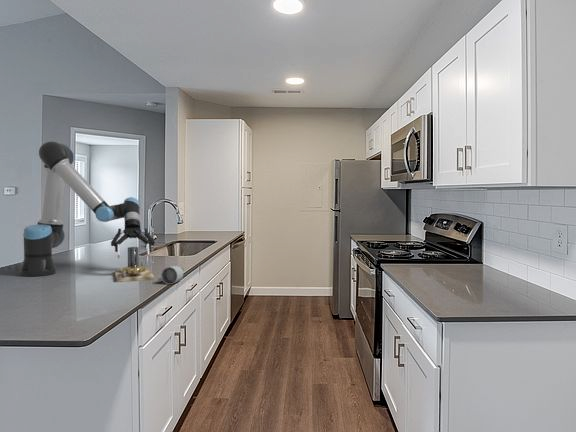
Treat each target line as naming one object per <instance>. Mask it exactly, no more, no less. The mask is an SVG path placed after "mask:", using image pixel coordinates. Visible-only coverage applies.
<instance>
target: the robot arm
mask: <svg viewBox="0 0 576 432" xmlns="http://www.w3.org/2000/svg"><path fill="white" fill-rule="evenodd" d="M38 156H39V159H40V160H41V162H42V163H44V167H43V168H44V170H45V171H46V177H45V179H46V180H45V186H44V187H45V188H44V197H43V206H42V211H41V218H40V219H39V220H38V221H37V224H32V225H28V226H26V227H25V226H24V227H25V228H24V229H23V234H22V236H23V261H22V264H21V267H20V270H19V275H20V276H22V277H41V276H42V277H43V276H49V275H53V274H57V266H56V265H55V262H54V259H53V254H52V253H53V249H54V248H58V247H59V246H60V245H62V243H63V242H64V241H65V238H66V237H65V235H66V233H65V230H64V222H63V221H62V220H61V219H62V211H63V203H64V202H63V201H64V195H65V194H64V193H65V187H66V185H65V184H67V186H69V188H70V189H71V190H72V191H73V192H74V193H75V194H76V195H77V196H78V197H79V199H80V200H81V201H82V202H83V203H84V204H85V205H86V206H87V207H88V208H89V209H90V210H91V211H92V212H93V213H94V214H95V218H96V219H97V220H98V221H99V222H101V223H103V222H104V223H107V222H111V221H114V220H118V219H123V218H124V229H122V228H118V229H117V233H116V234H115V235H114V237H113V239H112V240H111V242H110V246H111V247H114V252H115V253H117V259H120V253H121V252H120V245H121V244H123V242H125V241H126V240H128V239H138V240H140V241H141V242H143V244H145V245H146V254H147V258H149V257H150V252H151V251H152V246H155V242H156V241H155V240H154V239H153V237H152V236H151V234H150V233H149V231H148V228H144V229H142V228H141V216H140V203H139V200H138V199H137V198H136V197H131V196H130V197H127V198H125V199H124V201H123V202H122V203H119V204H113V205H109V204H108V203H107V202H106V201H105V200H104V198H103V197H102V196H101V195H100V194H99V193H98V192H97V190H95V188H93V186H91V184H90V183H89V182H88V181H87V180H86V179H85V177H84V176H82V174H80V173H79V171H77V169H76V168H75V167H74V166H73V165H72V164H73V163H74V161H75V154H74V152H73V150H72V148H70V147H69V146H68V145H66V144H64V143H60V142H56V141H46V142H44V143H43V144H41V145H40V147H39V149H38ZM121 235H122V236H121Z"/></svg>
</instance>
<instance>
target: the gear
mask: <svg viewBox="0 0 576 432" xmlns="http://www.w3.org/2000/svg"><path fill="white" fill-rule="evenodd" d="M146 268H147V266H145V265H144V266H141V265H139V266H136V265H133V266H128V265H127V266H123V268H122V269H123V271H126V273H131V276H138V272H140V273H141V272H145V271H146Z"/></svg>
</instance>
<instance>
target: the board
mask: <svg viewBox="0 0 576 432" xmlns="http://www.w3.org/2000/svg"><path fill="white" fill-rule="evenodd" d="M140 266H145V262H140ZM114 275H115V280H116V283H122V282H123V283H125V282H139V281H141V282H142V281H153V280H155V276H154V274H153V273H152V271H151V269H150V268H149V267H146V271H145V272H141V273H140V272H138V276H131V273H126V271H123V268H117V269H116V268H115V269H114Z"/></svg>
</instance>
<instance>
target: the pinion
mask: <svg viewBox="0 0 576 432" xmlns="http://www.w3.org/2000/svg"><path fill="white" fill-rule="evenodd" d="M139 254H140V251H139V247H138V246H128V247H127V267H128V266H133V265H136V266H140V262H139V261H140V259H139V258H140V257H139Z"/></svg>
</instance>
